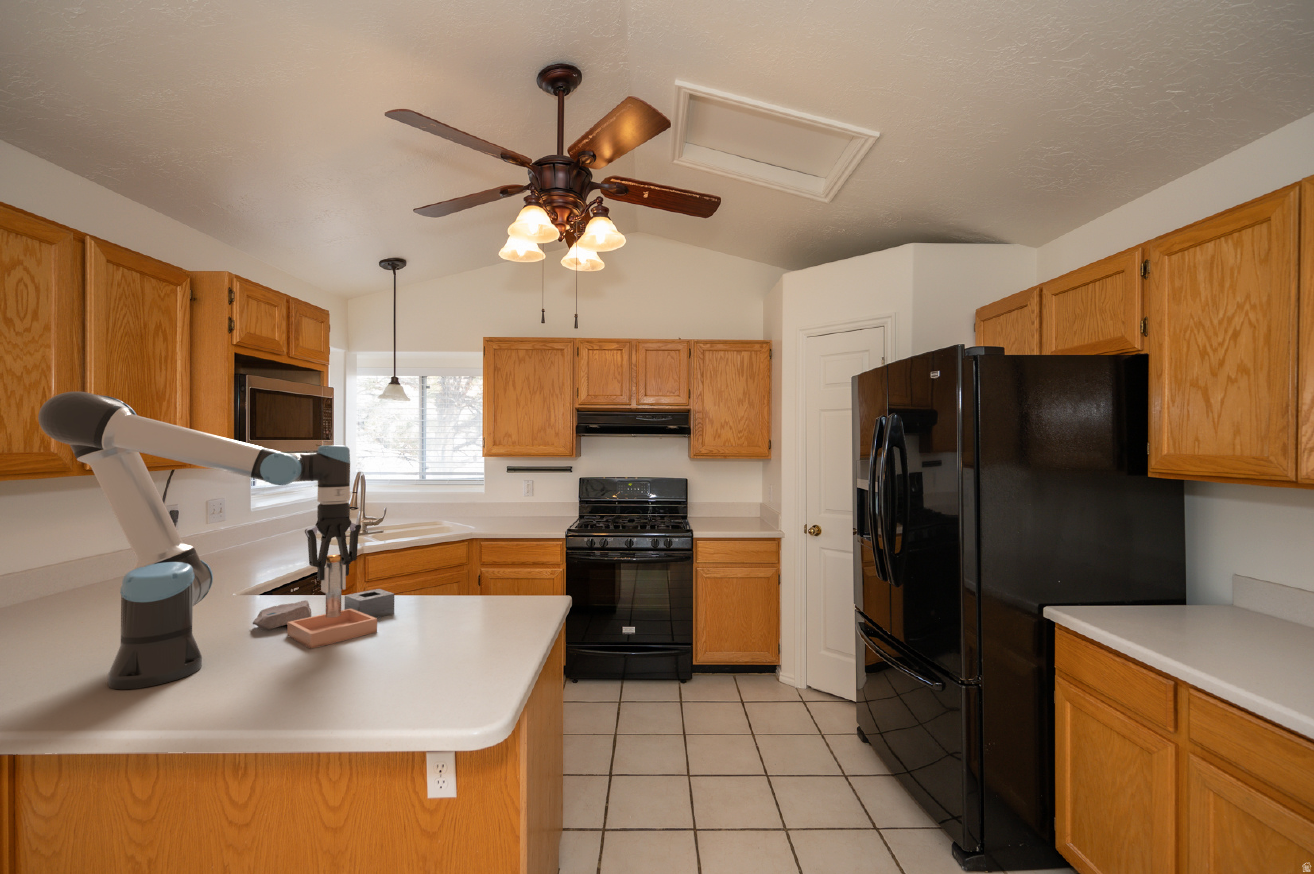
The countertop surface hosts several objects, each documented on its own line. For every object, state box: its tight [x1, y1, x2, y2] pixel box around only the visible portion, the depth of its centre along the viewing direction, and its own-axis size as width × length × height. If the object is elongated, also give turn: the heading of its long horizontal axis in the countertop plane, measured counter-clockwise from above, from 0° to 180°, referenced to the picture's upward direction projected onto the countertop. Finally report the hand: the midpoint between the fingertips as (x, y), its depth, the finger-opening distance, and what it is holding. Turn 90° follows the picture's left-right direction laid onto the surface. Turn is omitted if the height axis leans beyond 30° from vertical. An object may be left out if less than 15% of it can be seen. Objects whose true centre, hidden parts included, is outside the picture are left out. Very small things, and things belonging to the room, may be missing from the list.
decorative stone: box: [252, 600, 312, 630], centre depth 153 cm, size 13×10×6 cm
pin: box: [325, 553, 342, 618], centre depth 147 cm, size 4×4×16 cm
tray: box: [286, 608, 378, 649], centre depth 146 cm, size 16×16×4 cm
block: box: [343, 588, 395, 619], centre depth 164 cm, size 10×10×6 cm
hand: (333, 589), depth 147 cm, fingers closed on pin, 3 cm apart
